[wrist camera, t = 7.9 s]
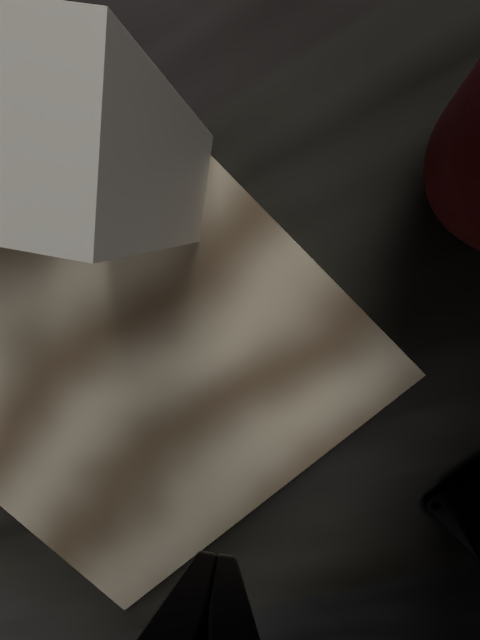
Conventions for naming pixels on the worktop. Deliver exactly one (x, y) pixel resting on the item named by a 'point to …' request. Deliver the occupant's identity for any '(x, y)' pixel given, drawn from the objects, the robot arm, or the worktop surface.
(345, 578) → the worktop surface
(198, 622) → the robot arm
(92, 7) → the cream block
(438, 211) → the mug
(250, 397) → the maple board
